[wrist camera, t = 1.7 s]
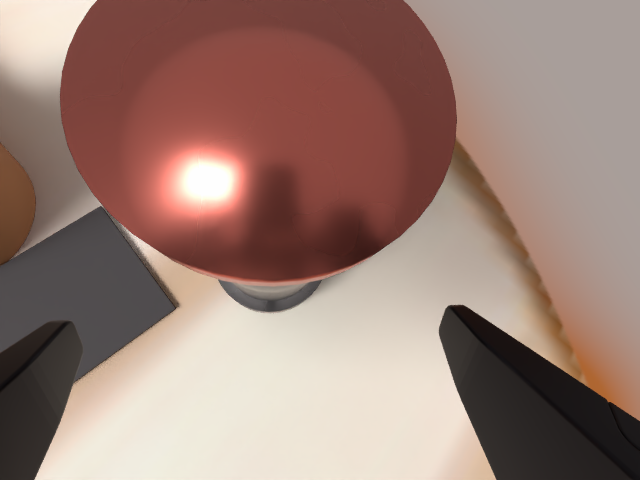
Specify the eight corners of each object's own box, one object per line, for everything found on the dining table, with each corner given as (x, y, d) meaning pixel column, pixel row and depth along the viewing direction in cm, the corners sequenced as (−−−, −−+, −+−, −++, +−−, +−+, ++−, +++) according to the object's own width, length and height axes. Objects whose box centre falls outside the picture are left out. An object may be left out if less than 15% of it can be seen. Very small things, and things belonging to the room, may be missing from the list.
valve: (344, 270, 20) (526, 132, 6) (260, 338, 18) (226, 377, 4) (281, 191, 21) (305, -106, 6) (194, 251, 19) (-26, 31, 5)
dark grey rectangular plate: (176, 308, 18) (175, 308, 18) (4, 432, 16) (1, 433, 16) (102, 207, 19) (100, 206, 19) (-72, 311, 17) (-76, 311, 16)
